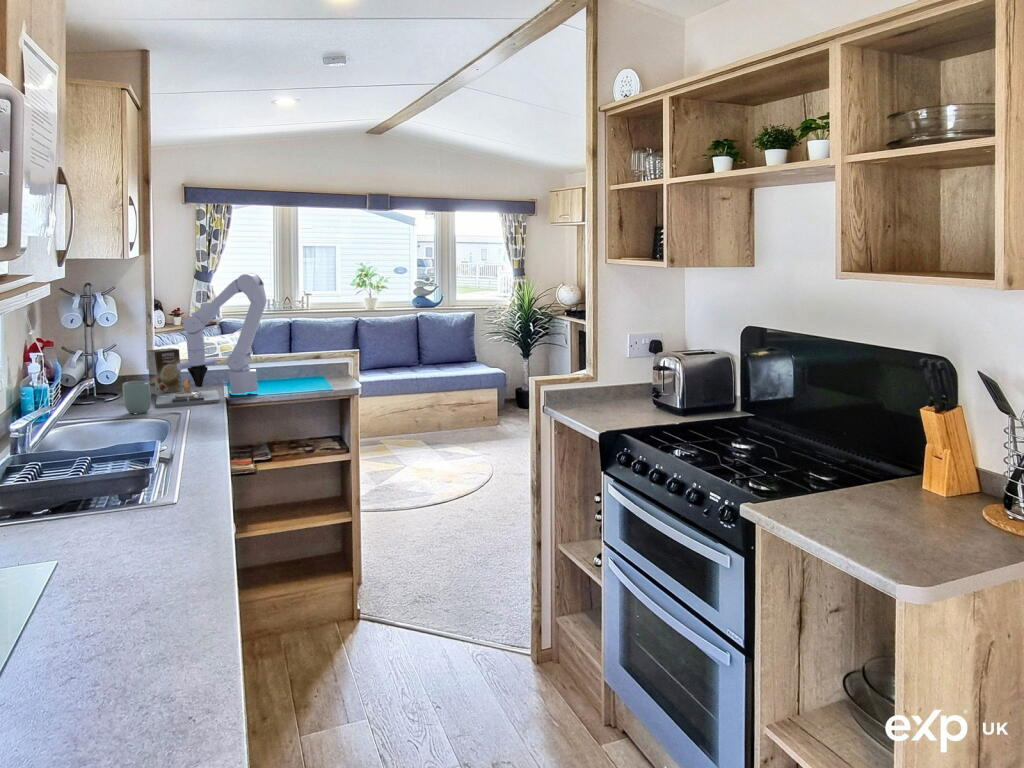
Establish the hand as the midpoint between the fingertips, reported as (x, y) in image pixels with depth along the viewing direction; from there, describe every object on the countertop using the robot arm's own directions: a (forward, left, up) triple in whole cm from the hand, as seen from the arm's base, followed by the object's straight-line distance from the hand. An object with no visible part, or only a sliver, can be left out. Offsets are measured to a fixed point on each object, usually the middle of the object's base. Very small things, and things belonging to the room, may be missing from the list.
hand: (198, 386), depth 268 cm
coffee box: (+11, -9, -3) cm, 15 cm away
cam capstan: (+4, +7, -1) cm, 8 cm away
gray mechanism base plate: (+4, +9, -3) cm, 10 cm away
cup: (+19, +24, -3) cm, 31 cm away
